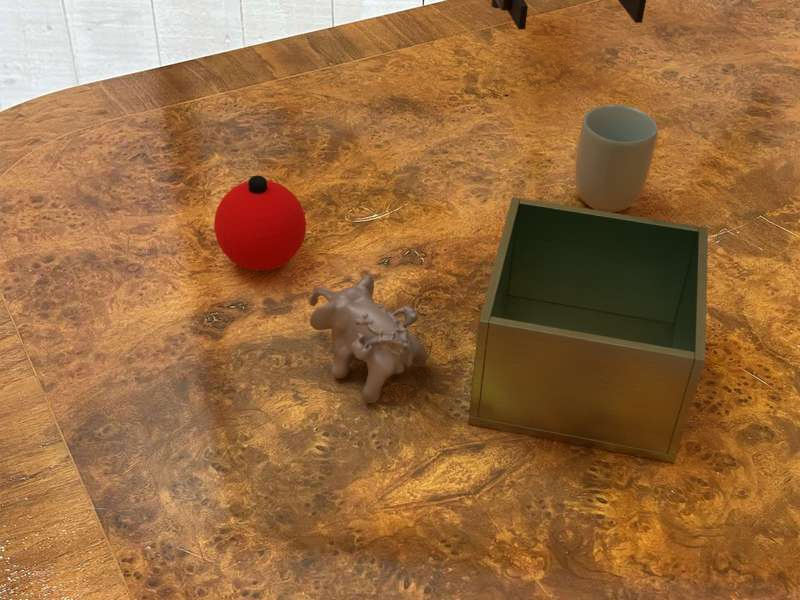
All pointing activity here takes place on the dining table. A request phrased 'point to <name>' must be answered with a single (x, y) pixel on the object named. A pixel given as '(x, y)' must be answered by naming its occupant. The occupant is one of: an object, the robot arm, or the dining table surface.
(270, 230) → the ornament
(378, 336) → the clay animal figurine
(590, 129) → the cup
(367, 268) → the dining table surface
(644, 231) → the bin
